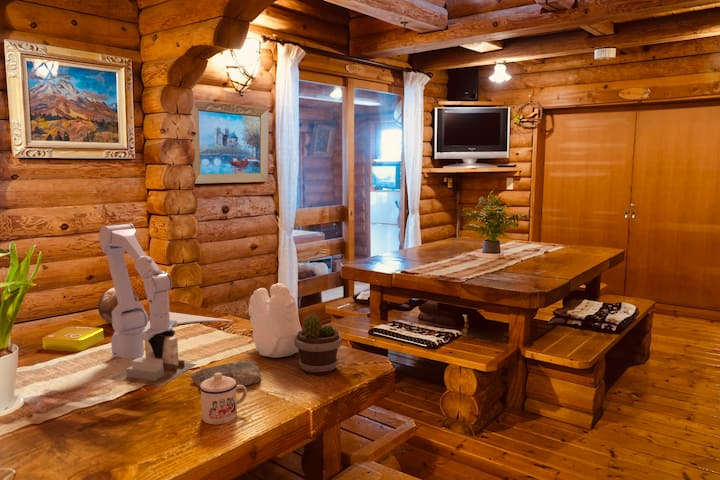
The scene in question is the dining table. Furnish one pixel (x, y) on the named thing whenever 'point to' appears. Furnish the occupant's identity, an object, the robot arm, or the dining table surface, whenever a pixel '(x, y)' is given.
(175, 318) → the corner molding
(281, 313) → the white sculpture
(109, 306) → the wooden sphere
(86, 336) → the element tile
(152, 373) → the block
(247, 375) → the clay tablet
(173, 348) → the brown rectangular block
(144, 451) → the dining table surface
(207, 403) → the teacup with lid
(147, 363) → the upper offcut
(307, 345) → the flowerpot
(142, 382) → the walnut rack
